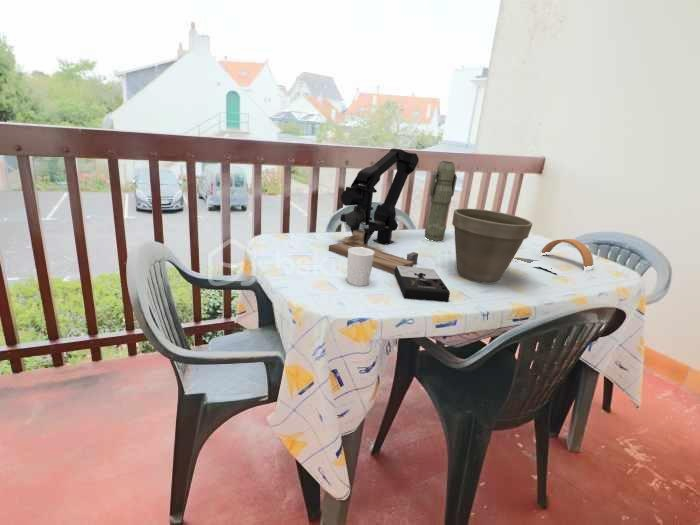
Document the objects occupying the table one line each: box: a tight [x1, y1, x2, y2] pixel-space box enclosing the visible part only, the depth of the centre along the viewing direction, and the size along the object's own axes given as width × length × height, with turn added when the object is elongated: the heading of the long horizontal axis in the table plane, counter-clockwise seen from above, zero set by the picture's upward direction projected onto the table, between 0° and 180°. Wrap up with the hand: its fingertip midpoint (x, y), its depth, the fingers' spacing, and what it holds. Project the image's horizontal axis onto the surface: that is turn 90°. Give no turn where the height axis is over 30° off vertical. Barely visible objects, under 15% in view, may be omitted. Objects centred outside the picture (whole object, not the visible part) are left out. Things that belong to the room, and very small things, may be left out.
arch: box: [540, 238, 594, 267], centre depth 156 cm, size 6×20×10 cm, turn 29°
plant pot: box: [451, 208, 533, 284], centre depth 128 cm, size 25×25×22 cm
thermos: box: [424, 160, 458, 242], centre depth 167 cm, size 9×12×35 cm
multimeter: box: [393, 266, 451, 303], centre depth 115 cm, size 13×19×5 cm
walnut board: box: [327, 241, 419, 275], centre depth 138 cm, size 17×30×4 cm, turn 50°
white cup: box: [346, 247, 374, 287], centre depth 113 cm, size 8×8×10 cm
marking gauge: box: [343, 228, 369, 247], centre depth 147 cm, size 11×5×6 cm, turn 140°
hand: (360, 242), depth 150 cm, fingers closed on marking gauge, 5 cm apart
